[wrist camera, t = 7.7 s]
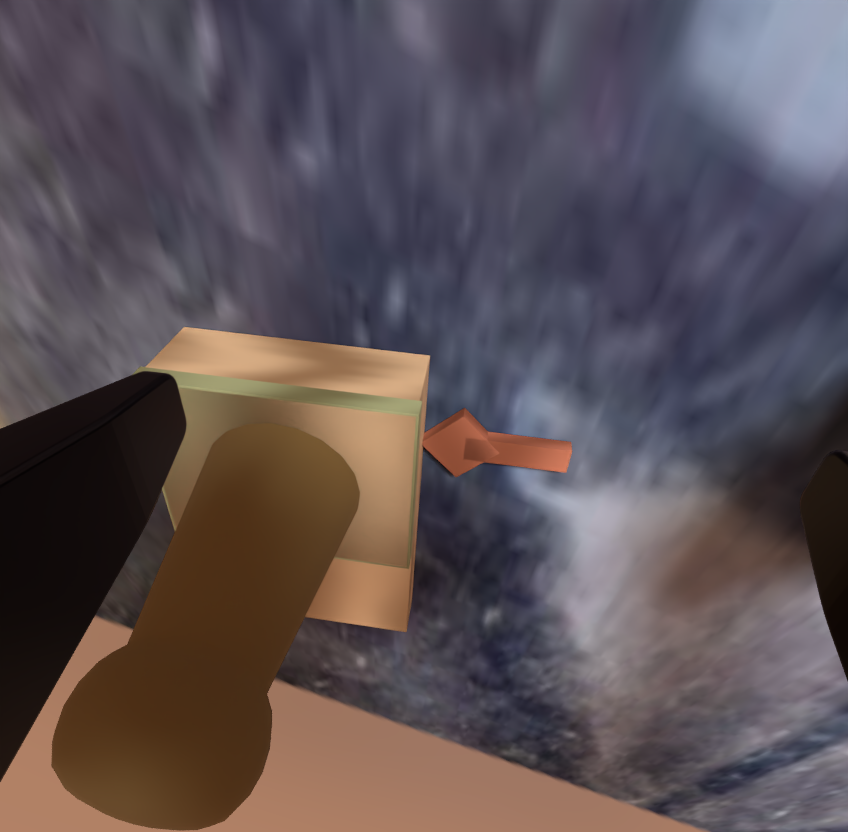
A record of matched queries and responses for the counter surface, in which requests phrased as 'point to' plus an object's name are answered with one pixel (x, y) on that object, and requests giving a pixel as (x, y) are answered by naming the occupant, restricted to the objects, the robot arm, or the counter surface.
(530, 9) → the counter surface
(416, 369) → the tan piece
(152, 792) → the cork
